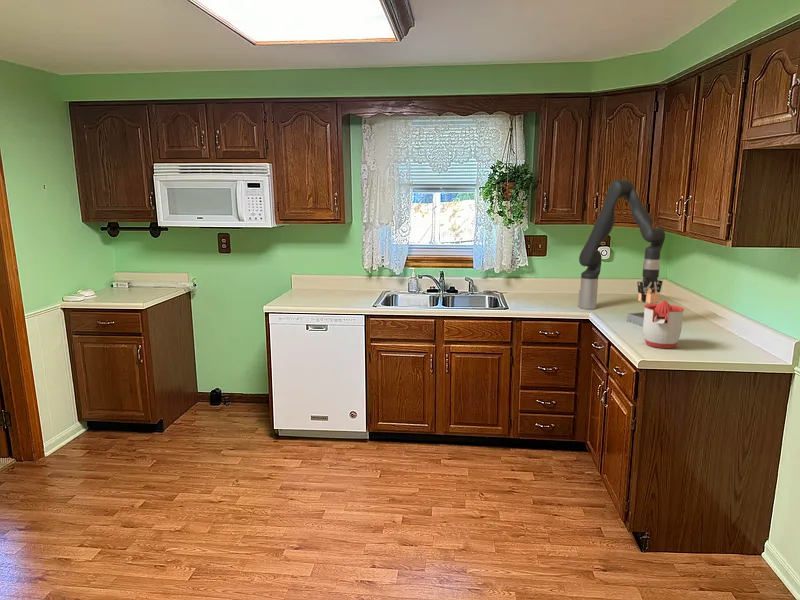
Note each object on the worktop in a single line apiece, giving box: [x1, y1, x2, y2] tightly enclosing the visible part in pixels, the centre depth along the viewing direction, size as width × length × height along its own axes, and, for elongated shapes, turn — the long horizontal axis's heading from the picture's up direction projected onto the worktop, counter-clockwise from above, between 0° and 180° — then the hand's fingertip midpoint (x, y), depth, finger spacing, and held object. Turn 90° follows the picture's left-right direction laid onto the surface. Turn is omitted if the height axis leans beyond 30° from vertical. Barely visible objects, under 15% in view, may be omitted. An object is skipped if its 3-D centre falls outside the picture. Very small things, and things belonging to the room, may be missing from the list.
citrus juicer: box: [642, 299, 685, 350], centre depth 241 cm, size 16×17×20 cm
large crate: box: [626, 311, 644, 327], centre depth 284 cm, size 12×14×4 cm
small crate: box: [637, 290, 660, 304], centre depth 282 cm, size 8×6×5 cm
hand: (648, 301), depth 282 cm, fingers closed on small crate, 5 cm apart
